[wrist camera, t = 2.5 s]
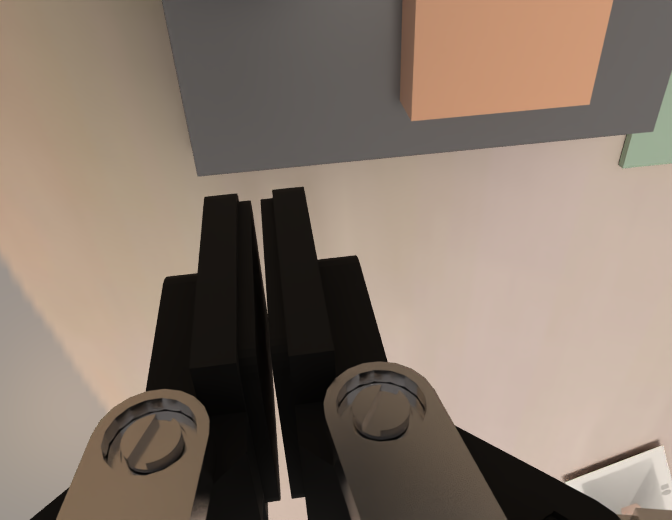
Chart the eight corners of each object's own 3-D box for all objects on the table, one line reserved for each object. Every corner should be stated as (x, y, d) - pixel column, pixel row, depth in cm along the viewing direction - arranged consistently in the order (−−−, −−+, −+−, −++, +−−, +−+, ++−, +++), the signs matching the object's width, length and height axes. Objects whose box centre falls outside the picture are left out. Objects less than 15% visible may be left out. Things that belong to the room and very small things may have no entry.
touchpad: (595, 545, 56) (606, 568, 55) (559, 470, 48) (571, 494, 46) (676, 516, 55) (690, 538, 53) (655, 433, 46) (671, 457, 45)
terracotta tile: (405, -102, 20) (419, -95, 18) (606, -115, 20) (637, -108, 19) (399, 100, 24) (411, 121, 22) (566, 85, 25) (589, 104, 23)
